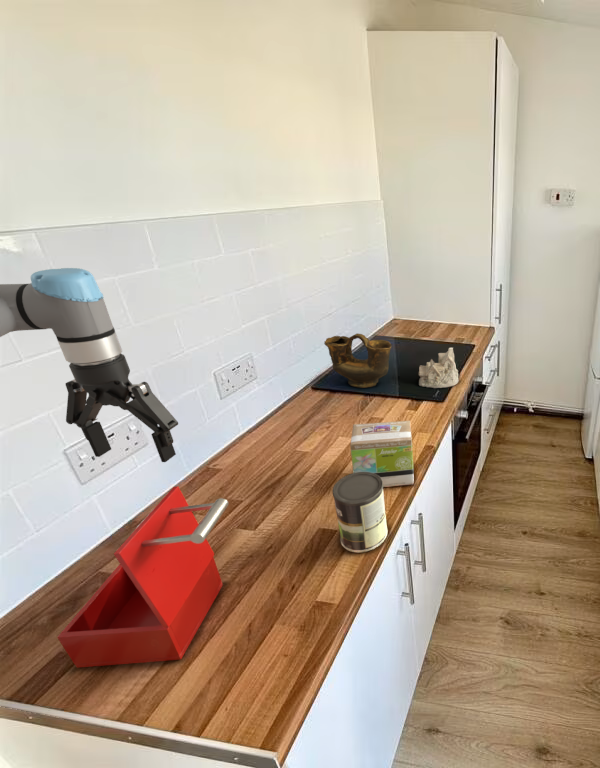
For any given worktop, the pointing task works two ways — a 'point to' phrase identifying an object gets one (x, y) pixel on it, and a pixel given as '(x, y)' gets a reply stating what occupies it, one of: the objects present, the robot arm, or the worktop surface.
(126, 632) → the box
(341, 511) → the coffee can
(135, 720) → the worktop surface
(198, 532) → the lid
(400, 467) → the tea box
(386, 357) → the pottery vessel
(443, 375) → the ceramic cottage
